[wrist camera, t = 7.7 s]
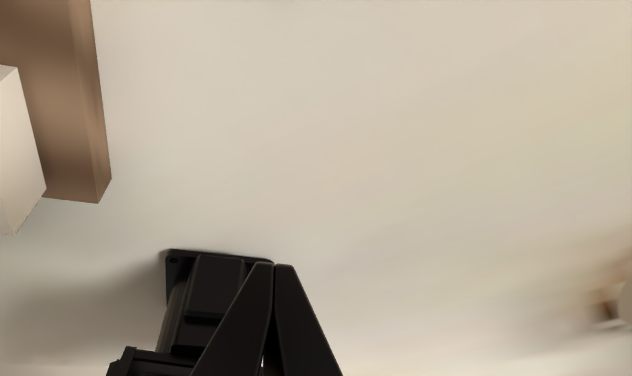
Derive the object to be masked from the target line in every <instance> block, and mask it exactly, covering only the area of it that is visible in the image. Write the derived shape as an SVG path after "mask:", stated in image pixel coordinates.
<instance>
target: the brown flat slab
mask: <svg viewBox="0 0 632 376" xmlns="http://www.w3.org/2000/svg"><path fill="white" fill-rule="evenodd" d="M0 65H6V66H13V67H17V69H18V73H19V77H20V81H21V85H22V90H23V94H24V98H25V102H26V106H27V110H28V114H29V118H30V123H31V127H32V131H33V135H34V139H35V143H36V147H37V151H38V155H39V160H40V164H41V168H42V172H43V176H44V180H45V184H46V188H47V189H46V190H45V192H44V193H43V195H42V196H41V197H45V198H54V199H62V200H71V201H79V202H88V203H96V204H98V203H99V201H100V199H101V198H102V196H103V194H104V192H105V190H106V188H107V186H108V184H109V183H110V181H111V179H112V177H111V169H110V161H109V153H108V145H107V137H106V128H105V120H104V112H103V104H102V96H101V88H100V79H99V71H98V63H97V55H96V47H95V39H94V31H93V22H92V14H91V6H90V0H0Z"/></svg>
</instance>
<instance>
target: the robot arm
mask: <svg viewBox="0 0 632 376" xmlns="http://www.w3.org/2000/svg"><path fill="white" fill-rule="evenodd" d="M165 267H166V298H167V309H166V313H165V316H164V320H163V324H162V327H161V331H160V335H159V338H158V342H157V345H156V349H155V352H153V351H146V350H139V349H137V347H131V346H126V347H125V350H124V352H123V355H122V357H121V359H120V360H119V359H117V361H115V362H112V363H110V366H109V368H108V371H107V374H106V376H343V374H342V372H341V370H340V368H339V366H338V363H337V361H336V359H335V357H334V355H333V352H332V350H331V348H330V346H329V344H328V341H327V339H326V337H325V335H324V333H323V330H322V328H321V326H320V324H319V322H318V319H317V317H316V315H315V313H314V311H313V308H312V306H311V304H310V302H309V300H308V297H307V295H306V293H305V291H304V289H303V287H302V284H301V282H300V280H299V278H298V276H297V273H296V271H295V269H294V267H293V266H292V265H287V264H274V262H272V261H271V260H266V259H256V258H247V257H238V256H228V255H219V254H209V253H200V252H191V251H181V250H170V251H169V252H167V256H166V259H165ZM262 359H263V367H261V363H262Z"/></svg>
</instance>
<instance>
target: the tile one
mask: <svg viewBox="0 0 632 376" xmlns="http://www.w3.org/2000/svg"><path fill="white" fill-rule="evenodd" d="M46 189H47V188H46V184H45V180H44V176H43V172H42V168H41V164H40V160H39V155H38V151H37V147H36V143H35V139H34V135H33V131H32V127H31V123H30V118H29V114H28V110H27V106H26V102H25V98H24V94H23V90H22V85H21V81H20V77H19V73H18V69H17V67H13V66H6V65H0V234H6V235H15V233H16V232H17V231H18V229H19V228H20V226H21V225H22V223H23V222H24V221H25V219H26V218H27V216H28V215H29V213H30V212H31V210H32V209H33V208H34V206H35V205H36V203H37V202H38V200H39V199H40V198H41V196H42V195H43V193H44V192H45V190H46Z"/></svg>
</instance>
